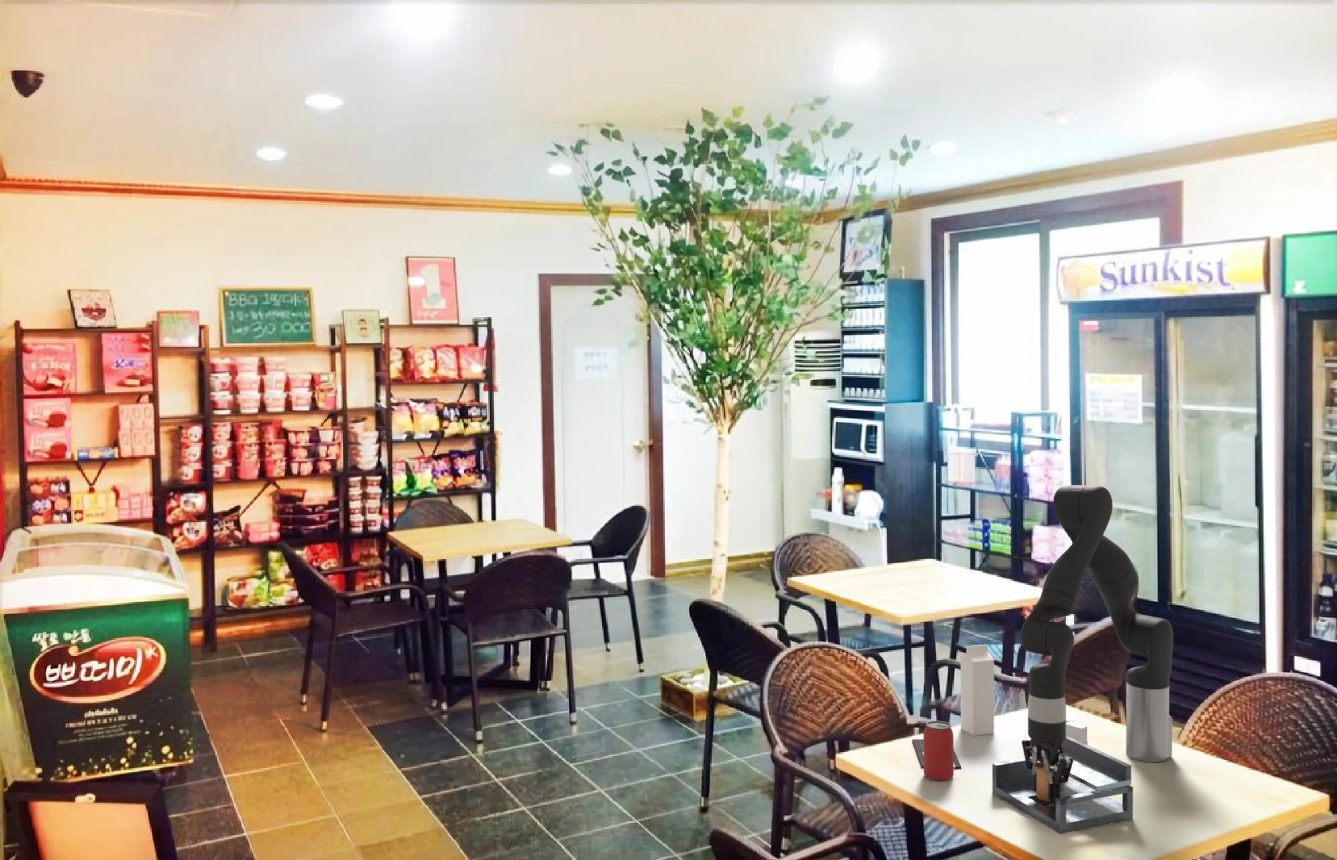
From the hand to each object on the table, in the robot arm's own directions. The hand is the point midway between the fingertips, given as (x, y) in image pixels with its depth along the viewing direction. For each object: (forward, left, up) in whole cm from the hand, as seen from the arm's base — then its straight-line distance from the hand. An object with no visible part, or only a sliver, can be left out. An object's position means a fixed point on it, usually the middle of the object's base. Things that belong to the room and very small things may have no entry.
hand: (1046, 795), depth 232 cm
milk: (-15, -46, -3) cm, 49 cm away
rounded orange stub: (0, 0, 0) cm, 0 cm away
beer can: (+11, -24, -3) cm, 26 cm away
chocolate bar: (+3, -36, -4) cm, 36 cm away
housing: (-3, 0, -3) cm, 4 cm away
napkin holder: (-31, -32, -4) cm, 44 cm away
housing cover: (-8, 0, +4) cm, 9 cm away
